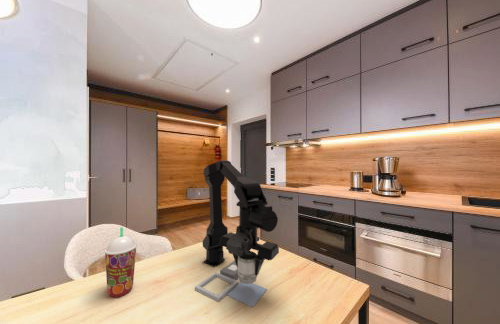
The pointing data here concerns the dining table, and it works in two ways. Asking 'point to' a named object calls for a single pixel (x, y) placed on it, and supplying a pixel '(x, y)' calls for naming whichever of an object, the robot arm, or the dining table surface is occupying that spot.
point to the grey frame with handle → (225, 274)
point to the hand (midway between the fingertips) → (247, 271)
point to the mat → (247, 293)
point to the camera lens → (247, 268)
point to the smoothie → (120, 265)
